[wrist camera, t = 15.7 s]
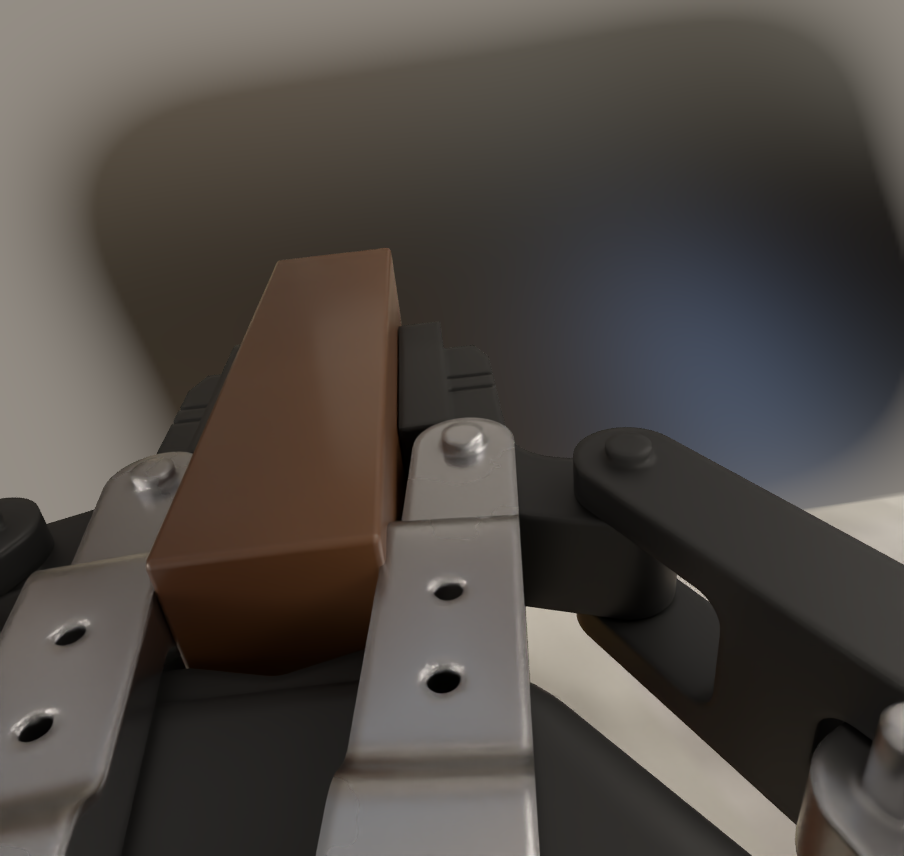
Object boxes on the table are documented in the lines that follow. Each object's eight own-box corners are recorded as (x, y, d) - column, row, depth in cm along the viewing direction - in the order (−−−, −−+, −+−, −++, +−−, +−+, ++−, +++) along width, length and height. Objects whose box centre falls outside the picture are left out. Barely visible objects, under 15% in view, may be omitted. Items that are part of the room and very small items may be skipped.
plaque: (514, 685, 19) (476, 236, 13) (579, 1083, 12) (559, 516, 6) (316, 708, 19) (189, 269, 13) (270, 1121, 12) (-42, 586, 6)
